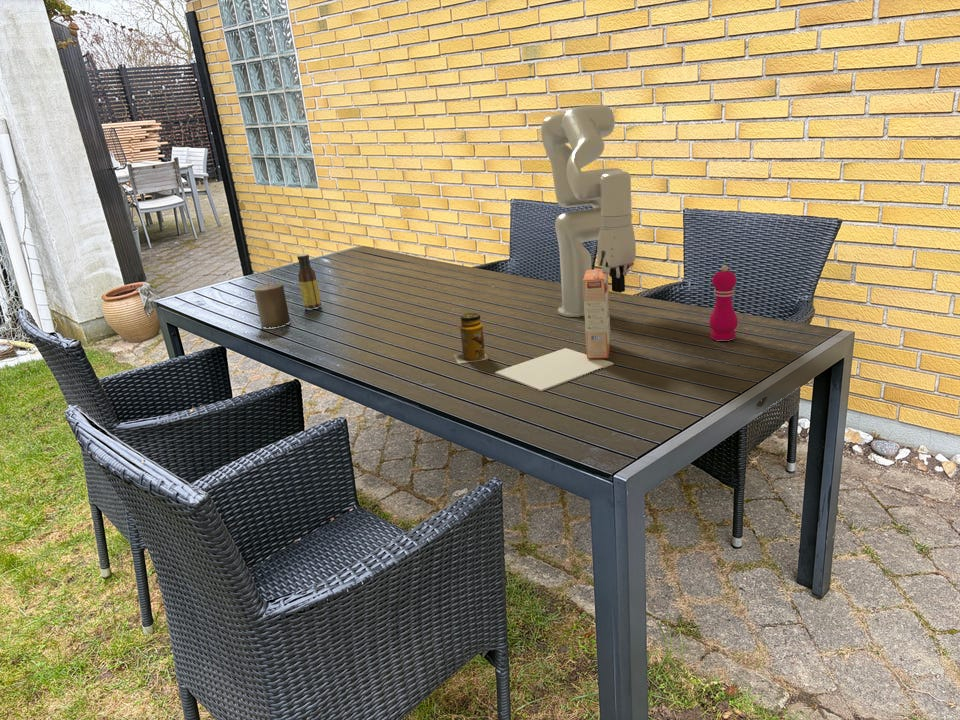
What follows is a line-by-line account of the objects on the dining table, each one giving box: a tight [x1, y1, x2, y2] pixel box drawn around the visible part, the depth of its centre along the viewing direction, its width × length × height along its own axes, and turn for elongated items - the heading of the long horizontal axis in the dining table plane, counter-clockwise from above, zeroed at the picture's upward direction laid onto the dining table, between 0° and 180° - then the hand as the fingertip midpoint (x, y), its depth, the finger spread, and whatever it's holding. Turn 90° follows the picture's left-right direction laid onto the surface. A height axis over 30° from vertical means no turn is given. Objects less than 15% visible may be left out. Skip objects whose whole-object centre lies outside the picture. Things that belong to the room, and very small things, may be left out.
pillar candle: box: [253, 282, 291, 328], centre depth 246 cm, size 10×10×15 cm
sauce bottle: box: [296, 253, 322, 309], centre depth 263 cm, size 6×6×20 cm
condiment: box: [452, 312, 490, 365], centre depth 198 cm, size 7×8×12 cm
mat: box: [494, 347, 615, 392], centre depth 185 cm, size 24×18×1 cm
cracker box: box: [583, 268, 611, 359], centre depth 191 cm, size 14×6×21 cm, turn 168°
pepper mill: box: [708, 264, 739, 340], centre depth 193 cm, size 7×7×20 cm
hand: (618, 291), depth 193 cm, fingers closed
